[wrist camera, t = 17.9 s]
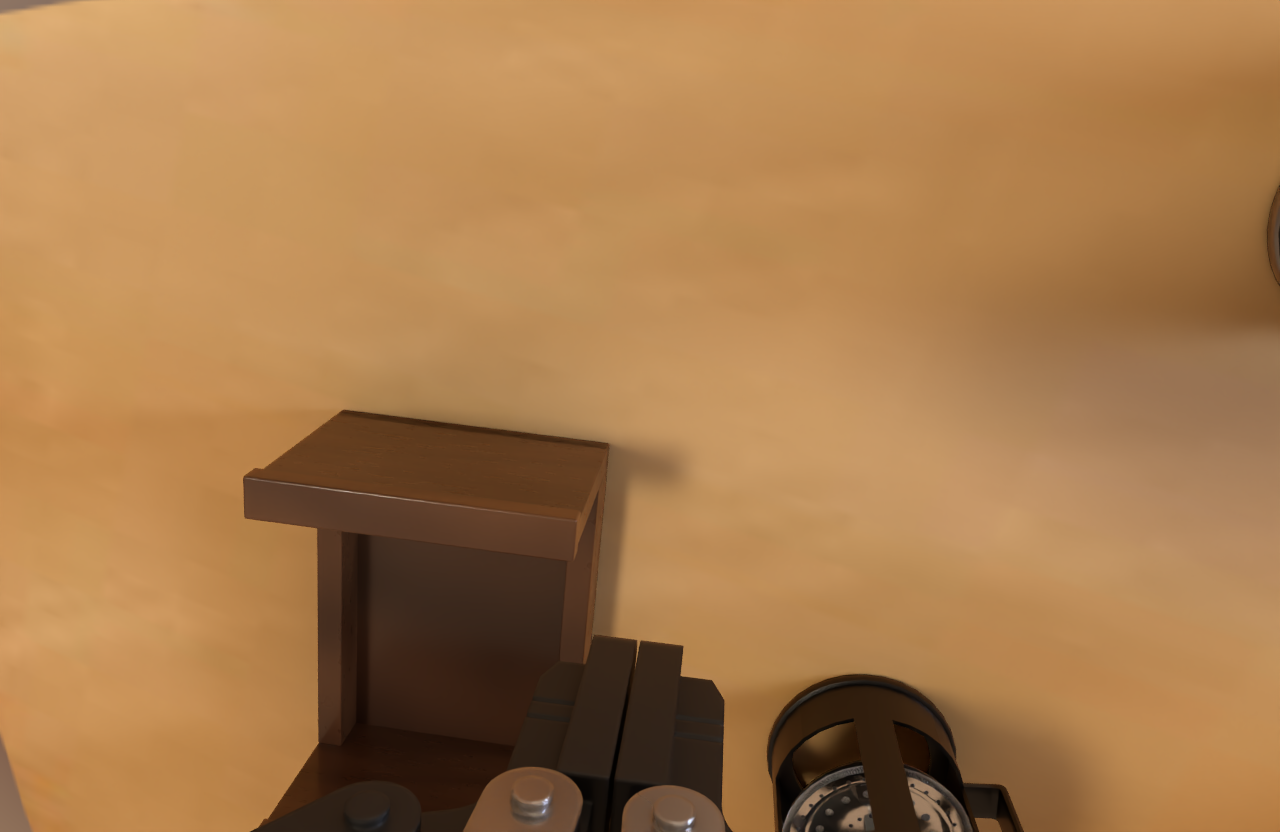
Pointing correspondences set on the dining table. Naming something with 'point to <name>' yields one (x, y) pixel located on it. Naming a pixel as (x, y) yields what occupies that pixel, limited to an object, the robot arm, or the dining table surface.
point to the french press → (876, 766)
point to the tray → (435, 592)
